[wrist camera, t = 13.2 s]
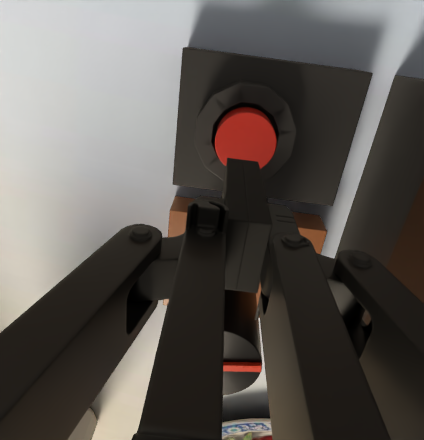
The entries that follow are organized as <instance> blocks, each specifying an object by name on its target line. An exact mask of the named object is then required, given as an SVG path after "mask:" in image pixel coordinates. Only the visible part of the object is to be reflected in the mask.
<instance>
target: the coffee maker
mask: <svg viewBox="0 0 424 440" xmlns="http://www.w3.org/2000/svg"><path fill="white" fill-rule="evenodd" d="M348 249H350V250H360V251H363V252H366V253H367V254H369V255H371V256H373V257H374V258H375V259H377V260H378V261H379V262H380V263H381V264H382V265H383V266H384V267H386V268H387V269H388V270H389V271H390V272H391V273H392V274H393V275H394V276H395V277H396V278H397V279H398V280H399V281H400V282H401V283H402V284H403V285H404V286H405V287H407V288H408V289H409V290H410V291H411V292H412V293H413V294H414V295H415V296H416V297H417V298H418V299H419V300H420V301H421V302H422V303H423V304H424V79H419V78H412V77H405V76H397V75H395V77H394V80H393V83H392V86H391V89H390V92H389V96H388V99H387V102H386V105H385V108H384V111H383V114H382V117H381V120H380V123H379V126H378V129H377V132H376V135H375V138H374V141H373V144H372V147H371V150H370V153H369V156H368V159H367V162H366V165H365V168H364V171H363V174H362V177H361V180H360V183H359V186H358V189H357V192H356V195H355V198H354V201H353V204H352V207H351V210H350V214H349V217H348V220H347V223H346V226H345V229H344V232H343V235H342V238H341V241H340V244H339V247H338V250H337V253H336V256H335V259H337V256H338V253H339V252H340V251H342V250H348ZM362 320H363V321H364V322H365V323H366V324H367V325H368V324H369V322H370V320H371V318H370V316H369V314H368V313H367V311H366V310H365V313H364V315H363V318H362Z"/></svg>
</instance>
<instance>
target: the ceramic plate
mask: <svg viewBox="0 0 424 440" xmlns="http://www.w3.org/2000/svg"><path fill="white" fill-rule="evenodd" d="M222 440H272V430H271V420H270V419H266V418H250V419H240V420H233V421H227V422H222Z"/></svg>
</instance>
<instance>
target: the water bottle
mask: <svg viewBox="0 0 424 440" xmlns="http://www.w3.org/2000/svg"><path fill="white" fill-rule="evenodd" d="M96 425H97V419H96V417H95V415H94V413H93V410H91V409H90V408H88V410H87V411H86V413H85V414H84V416H83V417H82V419H81V420H80V422H79V423H78V425H77V426H76V428H75V429H74V431H73V432H72V434H71V435H70V437H69V438H68V440H91V439H92V436H93V434H94V431H95V428H96Z"/></svg>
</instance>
